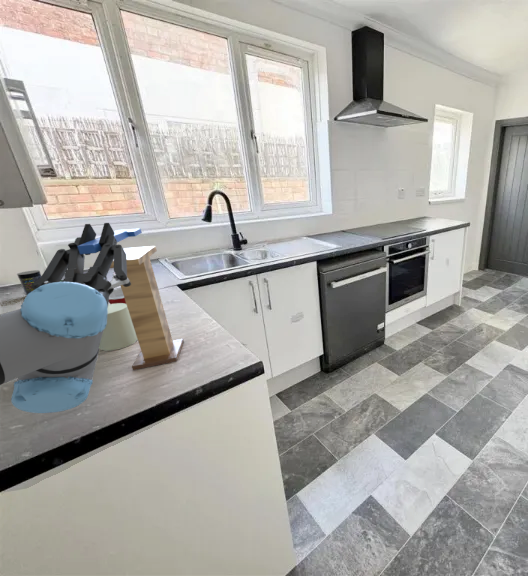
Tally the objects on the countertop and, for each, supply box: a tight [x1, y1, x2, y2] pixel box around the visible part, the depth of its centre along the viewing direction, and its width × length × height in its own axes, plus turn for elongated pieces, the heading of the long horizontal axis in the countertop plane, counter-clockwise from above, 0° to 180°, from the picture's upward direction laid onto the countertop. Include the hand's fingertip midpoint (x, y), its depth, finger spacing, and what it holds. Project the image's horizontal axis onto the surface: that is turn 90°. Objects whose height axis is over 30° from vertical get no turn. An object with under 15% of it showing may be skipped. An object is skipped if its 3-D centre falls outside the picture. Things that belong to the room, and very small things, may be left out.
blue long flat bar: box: [77, 228, 142, 255], centre depth 69 cm, size 26×5×2 cm, turn 24°
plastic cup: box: [108, 286, 126, 304], centre depth 107 cm, size 11×11×12 cm
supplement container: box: [16, 269, 42, 297], centre depth 136 cm, size 7×7×10 cm
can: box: [99, 303, 138, 352], centre depth 93 cm, size 9×9×12 cm
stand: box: [110, 245, 185, 371], centre depth 82 cm, size 17×10×30 cm, turn 24°
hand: (100, 228), depth 65 cm, fingers closed on blue long flat bar, 2 cm apart
